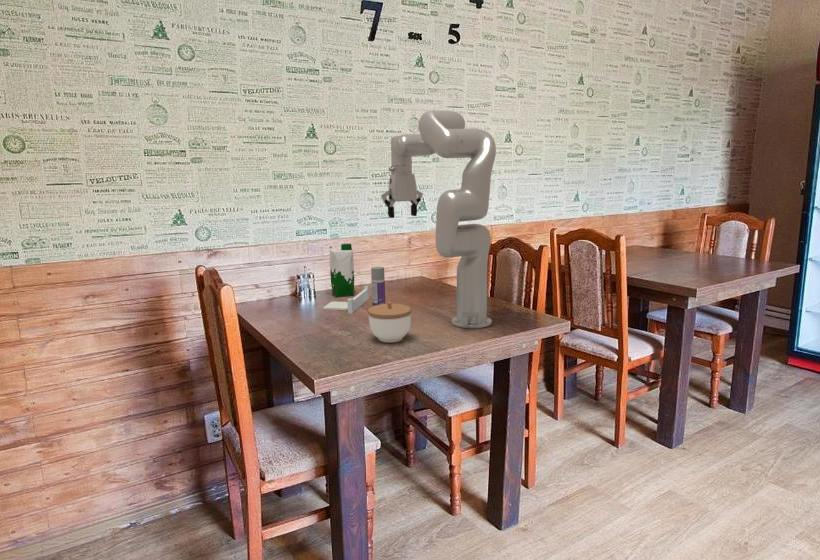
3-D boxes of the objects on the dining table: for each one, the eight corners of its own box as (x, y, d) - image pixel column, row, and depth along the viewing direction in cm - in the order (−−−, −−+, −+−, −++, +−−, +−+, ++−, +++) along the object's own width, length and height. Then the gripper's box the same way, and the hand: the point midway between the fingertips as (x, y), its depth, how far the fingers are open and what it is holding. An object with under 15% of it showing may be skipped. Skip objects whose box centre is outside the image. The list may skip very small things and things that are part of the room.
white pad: (347, 310, 195) (347, 308, 195) (323, 309, 197) (322, 307, 197) (354, 303, 204) (354, 302, 204) (331, 303, 206) (331, 301, 206)
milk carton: (356, 296, 216) (354, 245, 212) (333, 298, 213) (331, 246, 209) (352, 291, 224) (350, 242, 220) (329, 293, 221) (327, 243, 217)
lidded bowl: (360, 339, 162) (358, 302, 160) (391, 329, 171) (390, 295, 169) (389, 348, 154) (388, 310, 151) (420, 338, 162) (420, 301, 160)
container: (385, 307, 198) (384, 266, 195) (385, 310, 193) (384, 268, 190) (372, 307, 198) (371, 266, 194) (372, 311, 193) (370, 269, 190)
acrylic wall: (352, 313, 190) (351, 299, 189) (347, 313, 191) (347, 299, 190) (369, 298, 211) (369, 285, 210) (365, 298, 211) (364, 285, 210)
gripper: (385, 170, 197) (387, 218, 200) (427, 169, 205) (427, 215, 209) (376, 170, 203) (377, 217, 207) (416, 169, 212) (417, 214, 215)
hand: (402, 216), depth 208 cm, fingers open, 9 cm apart
